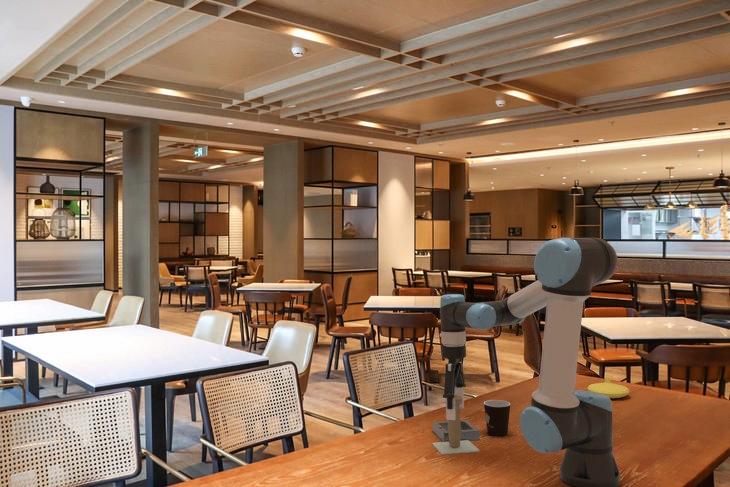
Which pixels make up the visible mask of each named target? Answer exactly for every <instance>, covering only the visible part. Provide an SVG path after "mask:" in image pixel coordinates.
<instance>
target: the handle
mask: <svg viewBox="0 0 730 487" xmlns="http://www.w3.org/2000/svg"><path fill="white" fill-rule="evenodd" d="M454 398H455V413H456V420H447V421H448V433H449V441H450V442H449V445H450V446H451V447H458V446H460V439H461V423H460V420H461V413H460V412H461V410H460V409H461V408H460V404H461V403H462V397H461V396H458V395H455V394H454Z"/></svg>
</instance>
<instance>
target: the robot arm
mask: <svg viewBox="0 0 730 487" xmlns="http://www.w3.org/2000/svg"><path fill="white" fill-rule="evenodd" d="M617 267H618V255H617V252H616V250H615V248H614V246H612V245H611V244H610V243H609V242H607V241H606V240H605V239H602V238H598V237H559V238H554V239H551V240H548V241H547V242H545V243H544V244H542V245H541V247H539V249H538V251H537V253H536V255H535V258H534V263H533V269H534V273H535V275H536V279H537V280H535V281H534V282H532V283H531V284H528V285H526V286H525V287H523V288H522V289H520V290H518V291H516V292H514V293H513V294H511V295H509V296H508V297H505V298H504V299H501V300H496V301H495V300H492V301H481V302H466V299H465V298H466V297H465V296H464V295H463V294H458V293H456V294H453V293H452V294H443V295H441V296H440V300H439V301H440V302H439V304H440V306H439V312H440V316H439V317H440V331H441V332H440V333H439V334H438V335H439V337H440V340H441V342H440V343H441V344H442V345H441V348H440V349H441V357H442V358H443V359H447V360H448V362H447V363H445V365H444V366H445V367H444V368H445V376H444V389H443V394H442V398H443V399H445V419H446V420H445V421H448V420H456V413H455V398H454V395H458V396H461V397H462V403H461V404H460V409H464V408H465V398H464V397H465V394H464V392H465V391H464V388H466V387H467V383H465V381H466V380H465V374H464V368H463V367H464V366H463V359H465V358H466V357H467V346H466V345H465V344H466V343H467V336H466V335H467V334H466V328H468V329H473V330H476V331H480V330H482V331H486V330H490V329H491V328H492V327H500V326H514V325H516V324H521V323H523V322H524V321H525V320H526V318H527V317H528V316H530V315H532V314H533V313H535V312H537V311H539V310H542V309H543V308H545V307H546V308H545V318H544V320H545V321H544V330H543V341H542V350H541V351H542V352H541V358H540V359H541V361H540V371H539V372H540V373H539V381H538V388H537V389H536V390H535V391H533V392H531V393H532V394H531V402H530V406H527V407H526V408H525V409H524V410H522V412H520V416H519V427H520V431H521V433H522V435H523V438H524V439H525V441H526V442H527V444H528V445H529V446H530V447H531V448H532V449H533V450H535V451H536V452H538V453H541V454H551V453H558V452H560V451H563V450H564V454H563V457H562V461H561V463H560V466H559V478H560V480H561V481H562V482H564V483H565V484H567V485H569V486H572V487H619V486H620V485H621V473H620V471H619V467H618V465H617V461H616V459H615V455H614V453H613V449H614V448H613V413H614V411H613V403H612V400H611V399H612V398H609V397H607V396H606V395H603V394H599V393H595V392H589V391H588V390H578V389H576V388H575V387H576V378H577V368H578V358H579V349H580V338H581V332H582V330H581V329H582V322H583V321H582V320H583V309H584V303H585V301H586V300H587V299H588V298H590V297H591V296H592V288H594V287H595V286H598V285H600V284H602V283H605V282H607V281H608V280H609V279H611V278H612V276H614V274H615V273H616V270H617Z"/></svg>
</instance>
